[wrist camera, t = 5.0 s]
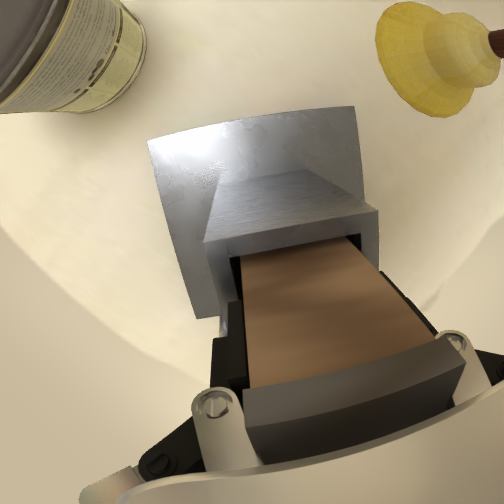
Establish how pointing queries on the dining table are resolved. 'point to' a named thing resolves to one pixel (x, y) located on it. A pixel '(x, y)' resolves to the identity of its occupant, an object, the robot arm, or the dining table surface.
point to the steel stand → (259, 195)
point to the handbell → (436, 56)
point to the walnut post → (334, 353)
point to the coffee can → (67, 54)
